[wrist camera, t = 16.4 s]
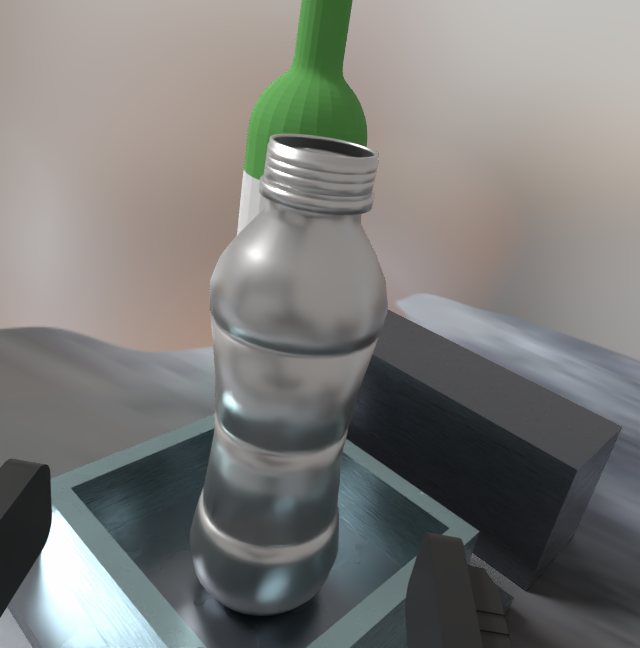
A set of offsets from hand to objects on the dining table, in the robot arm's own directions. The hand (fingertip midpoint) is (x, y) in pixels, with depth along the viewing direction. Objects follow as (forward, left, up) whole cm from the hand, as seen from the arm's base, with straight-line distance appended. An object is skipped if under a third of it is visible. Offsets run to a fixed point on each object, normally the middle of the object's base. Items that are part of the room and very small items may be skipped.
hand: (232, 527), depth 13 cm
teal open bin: (+13, +7, -15) cm, 21 cm away
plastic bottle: (+9, +7, -14) cm, 18 cm away
